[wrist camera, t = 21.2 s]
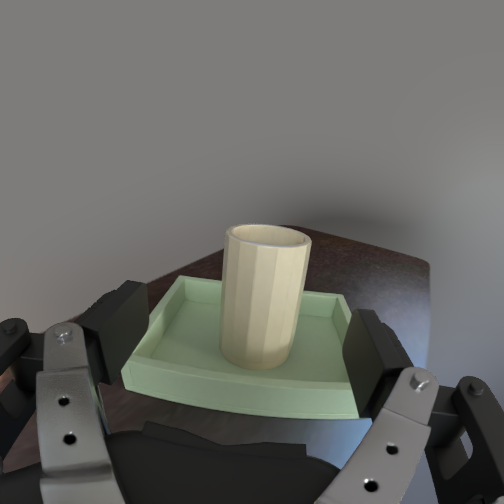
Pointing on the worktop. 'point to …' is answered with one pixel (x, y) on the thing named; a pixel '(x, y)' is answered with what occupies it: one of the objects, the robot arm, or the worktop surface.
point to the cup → (261, 293)
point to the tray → (236, 378)
